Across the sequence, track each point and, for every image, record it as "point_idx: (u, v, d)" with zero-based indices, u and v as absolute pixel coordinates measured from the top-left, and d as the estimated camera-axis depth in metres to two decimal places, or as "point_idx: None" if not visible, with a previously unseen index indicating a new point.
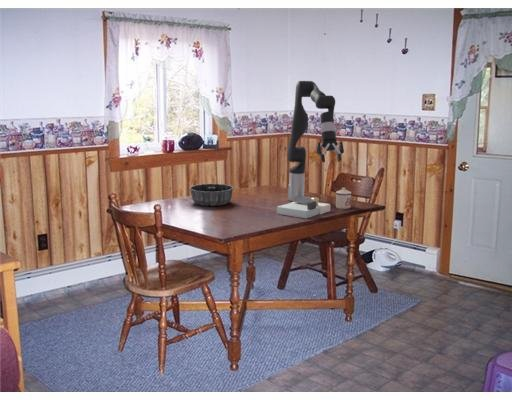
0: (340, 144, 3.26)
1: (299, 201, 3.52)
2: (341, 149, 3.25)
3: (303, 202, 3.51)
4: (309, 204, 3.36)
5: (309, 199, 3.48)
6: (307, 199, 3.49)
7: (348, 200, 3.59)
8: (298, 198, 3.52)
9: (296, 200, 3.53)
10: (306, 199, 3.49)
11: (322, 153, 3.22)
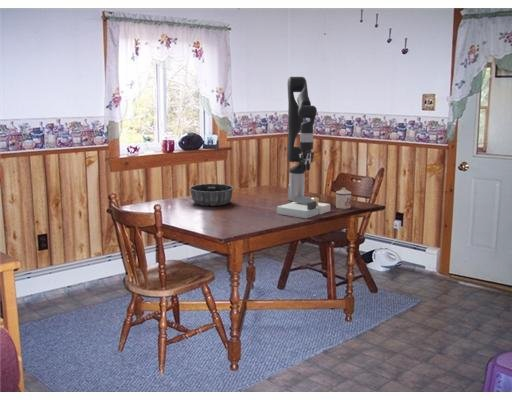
0: (312, 154, 3.57)
1: (299, 201, 3.52)
2: (311, 159, 3.57)
3: (303, 202, 3.51)
4: (309, 204, 3.36)
5: (309, 199, 3.48)
6: (307, 199, 3.49)
7: (348, 200, 3.59)
8: (298, 198, 3.52)
9: (296, 200, 3.53)
10: (306, 199, 3.49)
11: (305, 164, 3.52)
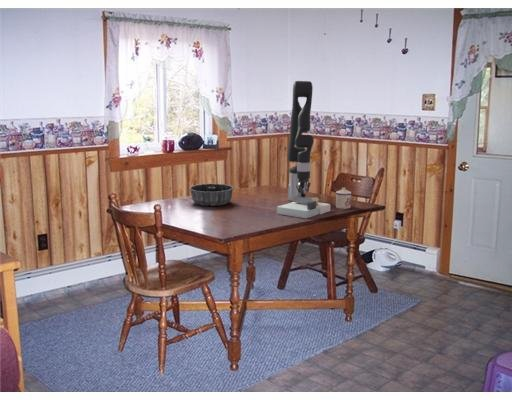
0: (309, 184, 3.58)
1: (299, 201, 3.52)
2: (307, 188, 3.57)
3: (303, 202, 3.51)
4: (309, 204, 3.36)
5: (309, 199, 3.48)
6: (307, 199, 3.49)
7: (348, 200, 3.59)
8: (298, 198, 3.52)
9: (296, 200, 3.53)
10: (306, 199, 3.49)
11: (304, 192, 3.54)
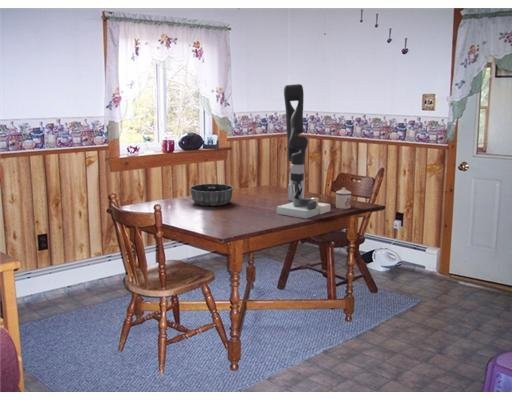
0: None
1: (300, 204, 3.45)
2: None
3: (304, 204, 3.45)
4: (309, 204, 3.36)
5: (311, 200, 3.46)
6: (309, 200, 3.45)
7: (348, 200, 3.59)
8: (298, 201, 3.44)
9: (296, 203, 3.44)
10: (307, 200, 3.45)
11: (299, 194, 3.48)
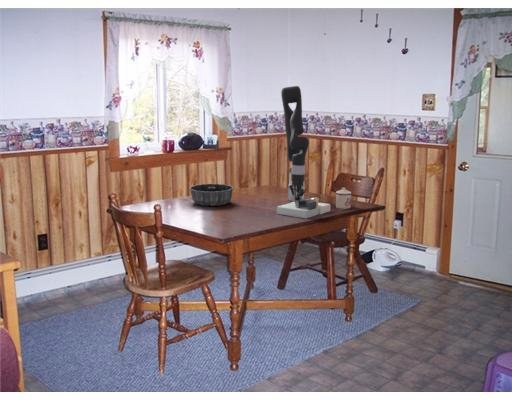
0: None
1: (303, 205, 3.42)
2: None
3: None
4: (309, 204, 3.36)
5: (312, 200, 3.45)
6: None
7: (348, 200, 3.59)
8: (302, 202, 3.41)
9: (300, 204, 3.41)
10: (309, 201, 3.44)
11: None
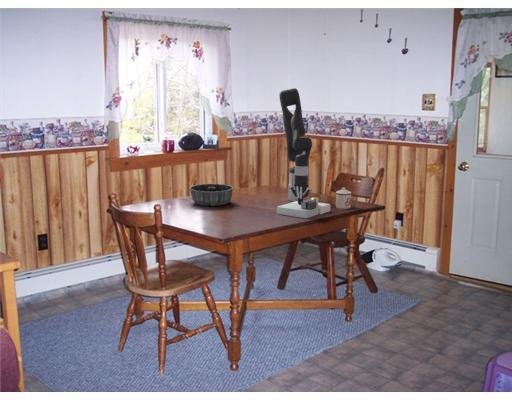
0: None
1: None
2: (297, 192, 3.44)
3: None
4: (309, 204, 3.36)
5: (314, 200, 3.45)
6: None
7: (348, 200, 3.59)
8: None
9: None
10: None
11: None
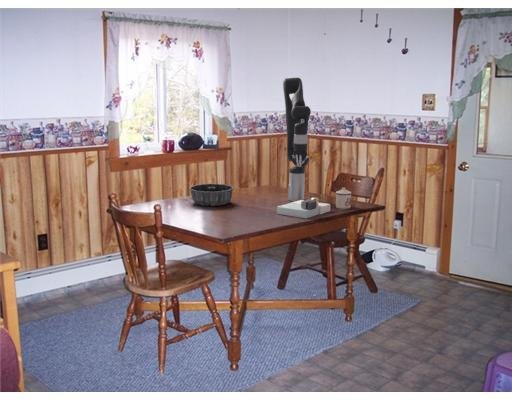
0: None
1: None
2: None
3: None
4: (309, 204, 3.36)
5: (314, 200, 3.45)
6: None
7: (348, 200, 3.59)
8: None
9: None
10: None
11: None
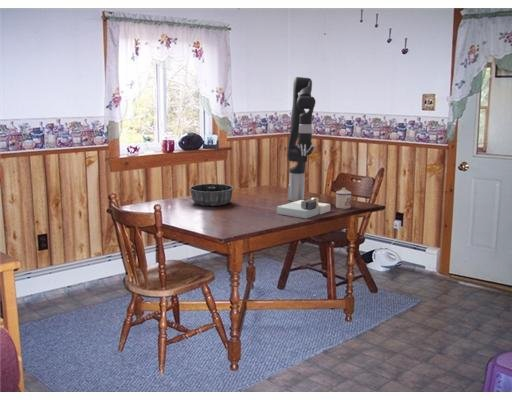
0: None
1: None
2: (301, 150, 3.56)
3: None
4: (309, 204, 3.36)
5: (314, 200, 3.45)
6: None
7: (348, 200, 3.59)
8: None
9: None
10: None
11: None
